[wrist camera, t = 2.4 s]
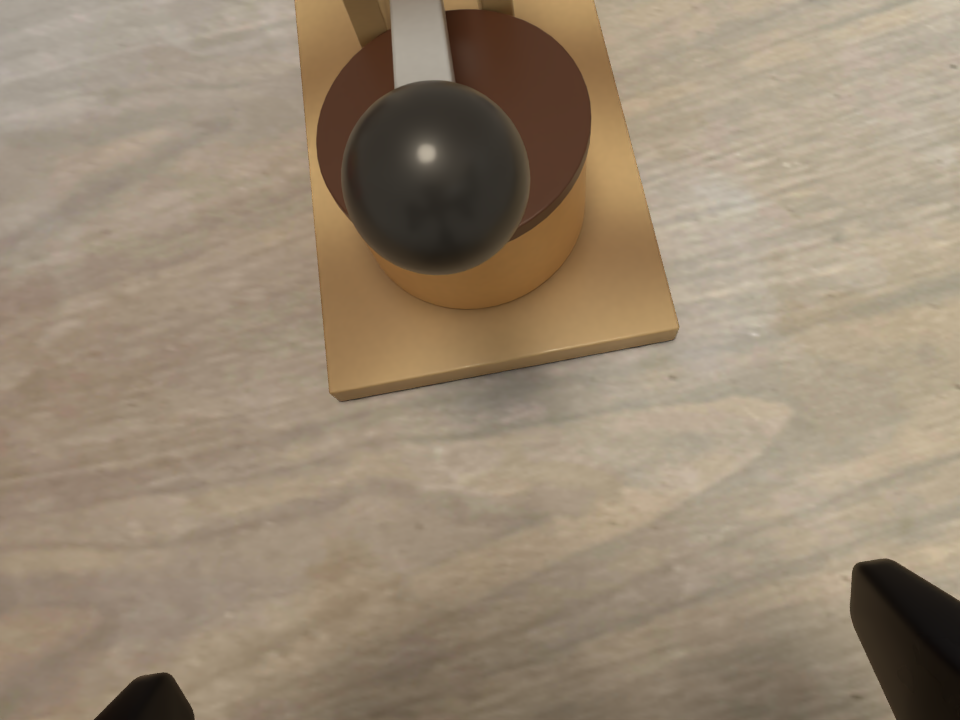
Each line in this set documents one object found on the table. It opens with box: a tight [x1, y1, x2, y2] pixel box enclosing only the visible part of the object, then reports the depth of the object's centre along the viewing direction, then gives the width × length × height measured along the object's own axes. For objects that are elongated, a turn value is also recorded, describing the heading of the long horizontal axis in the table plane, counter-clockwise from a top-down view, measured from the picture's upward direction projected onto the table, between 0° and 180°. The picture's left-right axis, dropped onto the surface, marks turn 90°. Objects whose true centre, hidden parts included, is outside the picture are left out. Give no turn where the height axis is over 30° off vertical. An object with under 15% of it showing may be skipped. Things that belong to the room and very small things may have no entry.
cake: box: [316, 9, 592, 309], centre depth 23 cm, size 8×8×5 cm
